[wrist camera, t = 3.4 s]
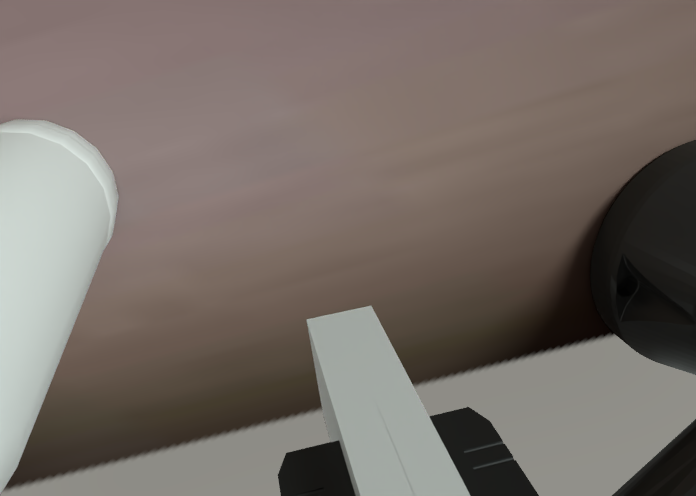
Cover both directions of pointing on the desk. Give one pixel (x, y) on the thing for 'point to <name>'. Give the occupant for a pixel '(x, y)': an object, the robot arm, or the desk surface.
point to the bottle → (44, 261)
